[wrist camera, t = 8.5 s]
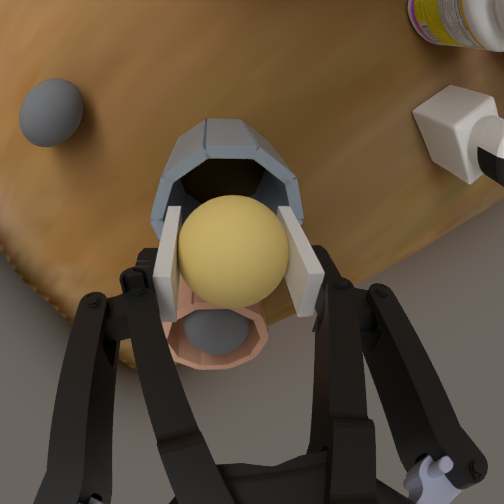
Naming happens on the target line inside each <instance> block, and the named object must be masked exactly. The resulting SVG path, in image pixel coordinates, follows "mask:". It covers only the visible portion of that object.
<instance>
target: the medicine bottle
mask: <svg viewBox="0 0 504 504" xmlns="http://www.w3.org/2000/svg"><path fill="white" fill-rule="evenodd" d="M412 114H413V116H414V118H415V120H416V123H417V125H418V127H419V130H420V132H421V134H422V137H423V139H424V142H425V144H426V147H427V149H428V152H429V155H430V157H431V160H432V161H433V162H435V163H436V164H438V165H440V166H441V167H443V168H444V169H446V170H448V171H449V172H451V173H452V174H454V175H455V176H457V177H459V178H460V179H462V180H463V181H465V182H466V183H468V184H472V183H473V182H474V181H476V180H477V179H478V178H479V177H480V176H481V175H482V174H485V175H487V176H488V177H490V178H491V179H493V180H494V181H496V182H497V183H499V184H500V185H502V186H503V187H504V119H502V118H500V117H499V116H498V112H497V108H496V104H495V101H494V98H493V97H492V96H489V95H486V94H483V93H479V92H476V91H473V90H469V89H465V88H462V87H458V86H454V85H448V86H447V87H445V88H444V89H442V90H441V91H440V92H438V93H437V94H435V95H434V96H432V97H431V98H429V99H428V100H426V101H425V102H424V103H422V104H421V105H419V106H418V107H416V108H415V109H414V110H413V111H412Z"/></svg>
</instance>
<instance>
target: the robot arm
mask: <svg viewBox="0 0 504 504" xmlns="http://www.w3.org/2000/svg"><path fill="white" fill-rule="evenodd" d="M277 217H278V218H279V220H280V222H281V223H282V225H283V227H284V229H285V232H286V234H287V238H288V243H289V260H288V265H287V269H286V272H285V274H284V277H285V280H286V283H287V286H288V289H289V292H290V295H291V298H292V301H293V304H294V307H295V310H296V313H297V316H298V317H307V316H313V313H314V309H316V312H317V318H316V321H315V324H314V327H313V330H312V332H314V331H315V360H314V386H313V404H312V419H311V433H310V442H309V446H308V449H307V453H306V455H301V456H298V457H296V458H294V459H291V460H289V461H286V462H284V463H282V464H279V465H277V466H271V467H270V466H260V465H252V464H245V463H236V464H222V465H221V464H219V465H216V464H215V462H214V460H213V458H212V455H211V453H210V451H209V449H208V447H207V444H206V442H205V440H204V437H203V436H202V433H201V432H200V430H199V428H198V426H197V423H196V421H195V418H194V416H193V413H192V411H191V408H190V405H189V403H188V401H187V398H186V396H185V392H184V389H183V387H182V384H181V381H180V378H179V375H178V373H177V370H176V367H175V364H174V361H173V358H172V355H171V352H170V348H169V345H168V342H167V339H166V336H165V332H164V329H163V326H162V322H177V307H178V293H179V281H180V270H179V267H178V259H177V242H178V236H179V233H180V230H181V228H182V218H181V206H168V210H167V214H166V218H165V222H164V226H163V231H162V235H161V239H160V244H159V248H144V249H143V250H142V251H141V252H140V253H139V254H138V258H137V262H136V265H135V267H131V268H128V269H126V270H125V271H123V272H122V274H121V275H120V283H121V287H122V291H123V293H122V294H120V295H118V296H115V297H111V298H106V296H105V295H104V294H103V293H101V292H91V293H89V294H87V295H85V296H84V297H83V298H82V299H81V301H80V303H79V306H78V309H77V312H76V316H75V319H74V322H73V326H72V329H71V333H70V337H69V340H68V345H67V348H66V352H65V357H64V361H63V365H62V369H61V374H60V379H59V383H58V388H57V394H56V400H55V405H54V411H53V417H52V425H51V432H50V440H49V450H48V461H47V471H46V474H45V476H44V478H43V481H42V483H41V486H40V488H39V490H38V493H37V495H36V498H35V500H34V503H33V504H110V502H111V495H112V432H113V431H112V430H113V411H114V394H115V384H116V373H117V364H118V355H119V347H120V341H121V340H125V339H129V338H131V342H132V347H133V352H134V357H135V361H136V366H137V370H138V375H139V379H140V382H141V387H142V391H143V395H144V398H145V402H146V405H147V409H148V413H149V416H150V419H151V423H152V426H153V430H154V433H155V436H156V439H157V447H158V450H159V454H160V456H161V459H162V462H163V465H164V468H165V471H166V473H167V476H168V479H169V481H170V484H171V486H172V489H173V491H174V494H175V497H174V498H173V499H172V501H171V502H170V503H169V504H449V503H450V502H451V501H452V500H453V499H454V498H455V497H456V496H457V495H458V494H459V493H460V492H461V491H462V490H464V489H466V488H468V487H470V486H473V485H475V484H477V483H479V482H480V481H482V480H483V479H484V477H485V476H486V474H487V469H488V464H487V460H486V458H485V456H484V455H483V454H482V452H481V451H480V450H479V449H478V447H477V446H476V445H475V444H474V442H473V441H472V440H471V438H470V437H469V436H468V435H467V434H466V432H465V431H464V430H463V429H462V427H461V426H460V424H459V422H458V420H457V417H456V415H455V412H454V410H453V408H452V406H451V403H450V401H449V399H448V397H447V394H446V392H445V390H444V388H443V386H442V383H441V381H440V379H439V377H438V375H437V373H436V371H435V369H434V367H433V365H432V363H431V361H430V359H429V357H428V355H427V353H426V351H425V349H424V347H423V345H422V343H421V341H420V339H419V337H418V336H417V334H416V332H415V330H414V328H413V326H412V325H411V323H410V321H409V319H408V317H407V316H406V314H405V312H404V310H403V308H402V307H401V305H400V303H399V302H398V300H397V298H396V296H395V295H394V293H393V291H392V290H391V289H390V288H389V287H387V286H386V285H383V284H379V283H376V284H372V285H371V286H370V288H369V290H363V289H358V288H354V286H353V284H352V283H351V282H350V281H349V280H348V279H346V278H343V277H341V275H340V273H339V272H338V270H337V268H336V266H335V264H334V263H333V261H332V259H331V258H330V256H329V254H328V252H327V251H326V250H325V249H324V248H323V247H322V246H320V245H310V243H309V241H308V239H307V237H306V235H305V233H304V232H303V230H302V228H301V226H300V224H299V222H298V220H297V218H296V217H295V215H294V213H293V211H292V209H291V207H290V206H278V210H277ZM362 351H363V354H364V356H365V359H366V362H367V364H368V367H369V370H370V372H371V375H372V378H373V380H374V384H375V386H376V389H377V392H378V395H379V398H380V400H381V403H382V406H383V409H384V412H385V415H386V418H387V421H388V424H389V427H390V430H391V433H392V436H393V439H394V443H395V446H396V449H397V452H398V455H399V457H400V460H401V462H402V464H403V466H404V468H405V470H406V471H407V475H406V479H405V480H404V482H403V485H404V488H405V489H406V490H409V497H408V498H407V497H405V496H403V495H402V494H400V493H398V492H397V491H395V490H394V489H392V488H391V487H389V486H387V485H386V484H384V483H383V482H381V481H380V480H378V479H377V478H376V443H375V426H374V422H373V421H372V420H371V419H369V418H368V416H367V402H366V387H365V375H364V364H363V354H362Z"/></svg>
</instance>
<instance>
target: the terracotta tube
mask: <svg viewBox="0 0 504 504" xmlns="http://www.w3.org/2000/svg"><path fill="white" fill-rule="evenodd" d="M201 309H231V310H233V311H235V312H237V313H239V314H241V315H243V316H245V317H247V318H249V319H250V328H249V332H248V335H247V337H246V339H245V340H244V342H243V343H242V344H241V345H240V346H239V347H238V348H236V349H235V350H233V351H231V352H229V353H226V354H221V355H213V354H208V353H205V352H203V351H201V350H199V349H197V348H196V347H195V346H194V345H193V344H192V343H191V342H190V341H189V339H188V338H187V336H186V334H185V331H184V326H183V317H184V316H185V315H187V314H189V313H191V312H193V311H195V310H201ZM162 326H163V329H164V332H165V336H166V339H167V342H168V345H169V348H170V352H171V355H172V358H173V361H176V362H179V363H181V364H184V365H187V366H190V367H193V368H195V369H199V368H200V370H208V369H209V370H212V369H229V367H230V368H233V367H235V366H238V365H240V364H242V363H245V362H247V361H249V360H251V359H253V358H255V356H257V355H258V354H259V352H260V351H261V349H262V348H263V347H264V345H265V344H266V342H267V341H268V339H269V333H268V329H267V324H266V320H265V315H264V311H263V307H262V302H261V301H259V302H257V303H255V304H253V305H250V306H246V307H241V308H224V307H219V306H216V305H213V304H210V303H208V302H206V301H204V300H203V299H201V298H200V297H199V296H197V295H196V294H195V293H194V292H193V291H192V290H191V289H190V288H189V287H188V285H187V284H186V282H185V281H184V279H183V277H182V275H181V273H180V281H179V293H178V307H177V322H162Z"/></svg>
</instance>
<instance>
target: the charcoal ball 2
mask: <svg viewBox="0 0 504 504" xmlns="http://www.w3.org/2000/svg"><path fill="white" fill-rule="evenodd" d="M183 326H184V331H185V334H186V336H187V338H188V339H189V341H190V342H191V343H192V344H193V345H194V346H195V347H196V348H197V349H199V350H201V351H203V352H205V353H208V354H213V355H221V354H226V353H229V352H231V351H233V350H235V349H236V348H238V347H239V346H240V345H241V344H242V343H243V342H244V340H245V339H246V337H247V335H248V332H249V328H250V319H249V318H247V317H245V316H243V315H241V314H239V313H237V312H235V311H233V310H231V309H201V310H195V311H193V312H191V313H189V314H187V315H185V316H184V317H183Z"/></svg>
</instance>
